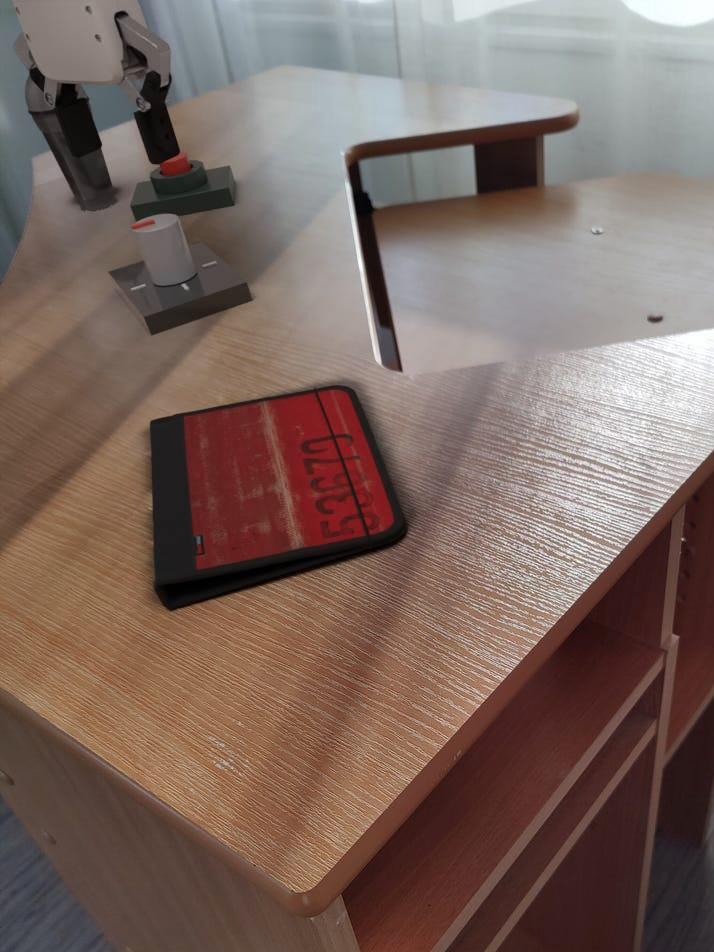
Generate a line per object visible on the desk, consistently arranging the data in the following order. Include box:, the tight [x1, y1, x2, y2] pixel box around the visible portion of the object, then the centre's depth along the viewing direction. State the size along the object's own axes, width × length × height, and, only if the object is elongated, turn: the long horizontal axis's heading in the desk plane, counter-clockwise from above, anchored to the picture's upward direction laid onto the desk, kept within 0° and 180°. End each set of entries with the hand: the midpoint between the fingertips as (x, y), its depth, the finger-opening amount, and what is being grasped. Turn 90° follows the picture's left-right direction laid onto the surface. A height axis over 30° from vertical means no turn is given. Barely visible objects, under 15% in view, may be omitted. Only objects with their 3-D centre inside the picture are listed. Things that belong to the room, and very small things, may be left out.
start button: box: [158, 151, 192, 175], centre depth 106 cm, size 4×4×2 cm
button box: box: [129, 159, 236, 223], centre depth 108 cm, size 12×9×4 cm
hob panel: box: [107, 241, 254, 337], centre depth 85 cm, size 14×10×3 cm
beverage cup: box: [24, 74, 117, 212], centre depth 106 cm, size 7×7×20 cm
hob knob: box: [130, 214, 197, 286], centre depth 82 cm, size 4×4×5 cm
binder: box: [149, 384, 408, 610], centre depth 61 cm, size 16×2×21 cm
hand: (126, 156), depth 77 cm, fingers open, 9 cm apart
